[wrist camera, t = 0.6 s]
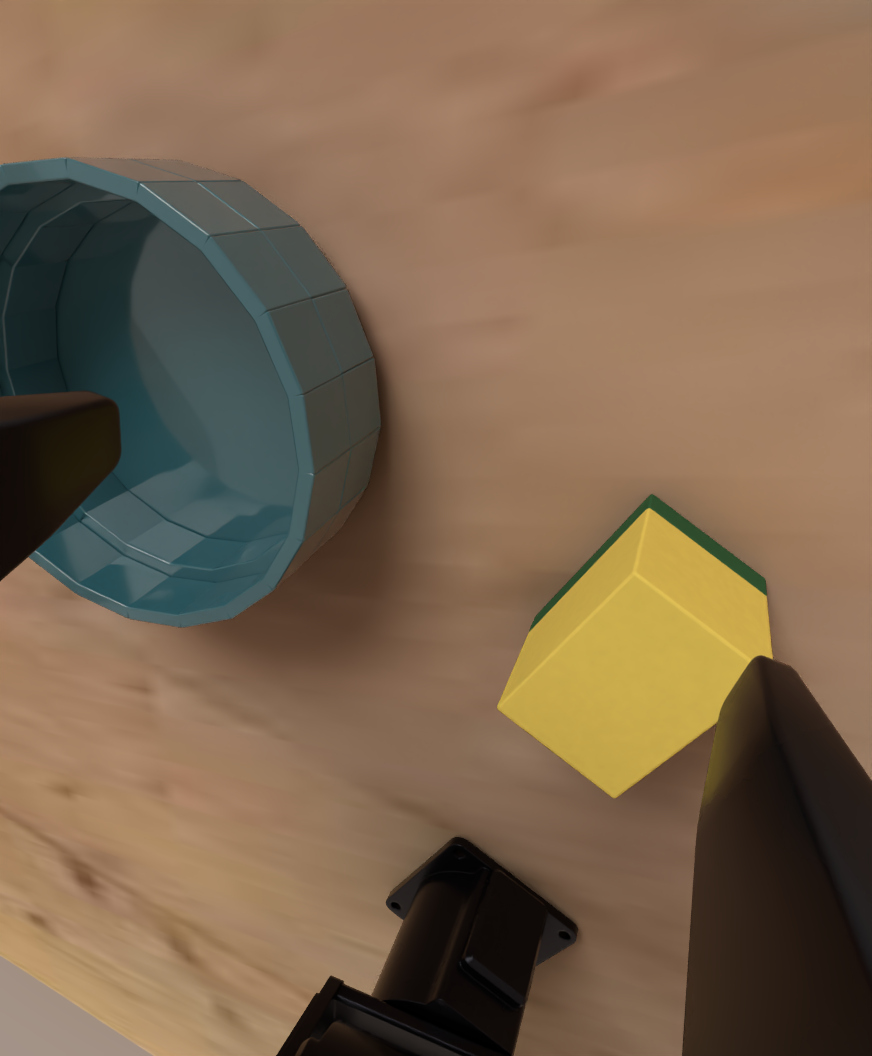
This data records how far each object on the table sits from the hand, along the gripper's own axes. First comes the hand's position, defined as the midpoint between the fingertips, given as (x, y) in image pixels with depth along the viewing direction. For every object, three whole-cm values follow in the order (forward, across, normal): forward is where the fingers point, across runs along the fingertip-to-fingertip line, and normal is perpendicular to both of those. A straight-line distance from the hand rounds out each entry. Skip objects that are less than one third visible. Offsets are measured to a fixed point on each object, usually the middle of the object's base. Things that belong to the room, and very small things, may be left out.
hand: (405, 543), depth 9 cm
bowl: (+12, +12, +6) cm, 18 cm away
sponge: (+12, -5, +8) cm, 15 cm away
